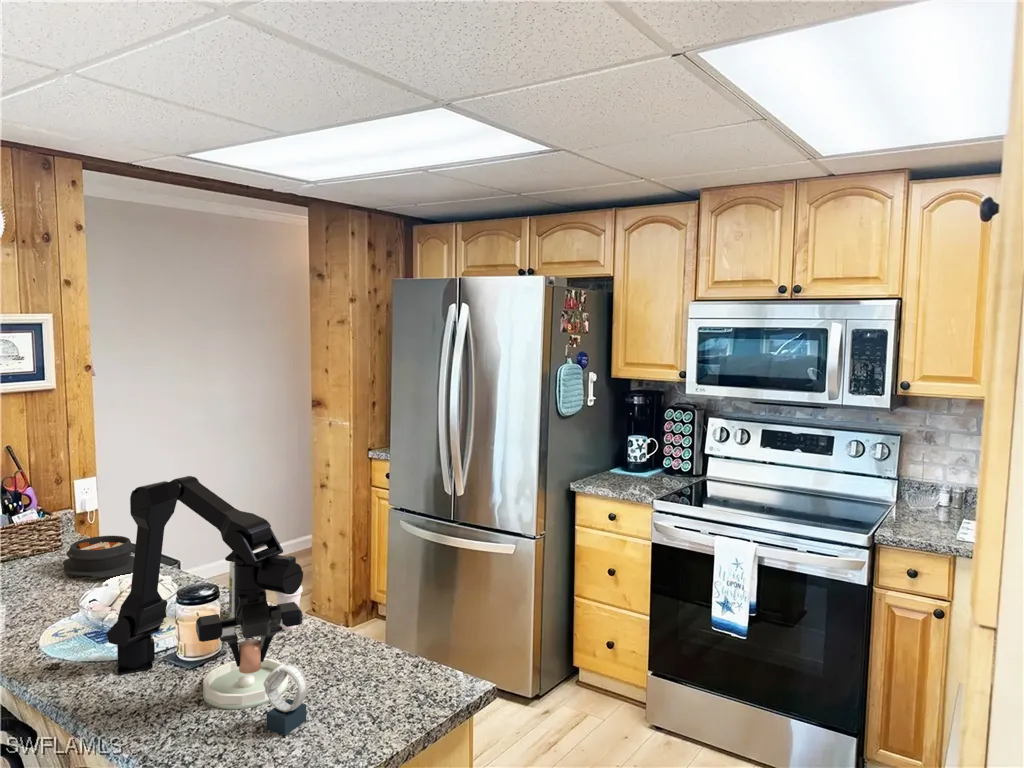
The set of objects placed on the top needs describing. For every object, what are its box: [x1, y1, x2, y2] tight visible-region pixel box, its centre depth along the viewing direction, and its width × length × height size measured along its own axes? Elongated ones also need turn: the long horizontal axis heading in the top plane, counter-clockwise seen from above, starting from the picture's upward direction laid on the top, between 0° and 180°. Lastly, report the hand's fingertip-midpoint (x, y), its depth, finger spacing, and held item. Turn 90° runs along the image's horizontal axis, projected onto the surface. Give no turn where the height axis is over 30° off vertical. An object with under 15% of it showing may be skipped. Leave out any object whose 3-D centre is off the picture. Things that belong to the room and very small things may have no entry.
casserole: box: [62, 535, 135, 579], centre depth 205 cm, size 25×19×8 cm
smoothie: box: [274, 584, 304, 631], centre depth 171 cm, size 6×6×14 cm
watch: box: [264, 663, 308, 737], centre depth 129 cm, size 6×8×11 cm
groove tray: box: [202, 657, 289, 710], centre depth 142 cm, size 16×16×2 cm
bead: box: [238, 638, 261, 674], centre depth 138 cm, size 4×4×5 cm
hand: (249, 663), depth 138 cm, fingers closed on bead, 4 cm apart
